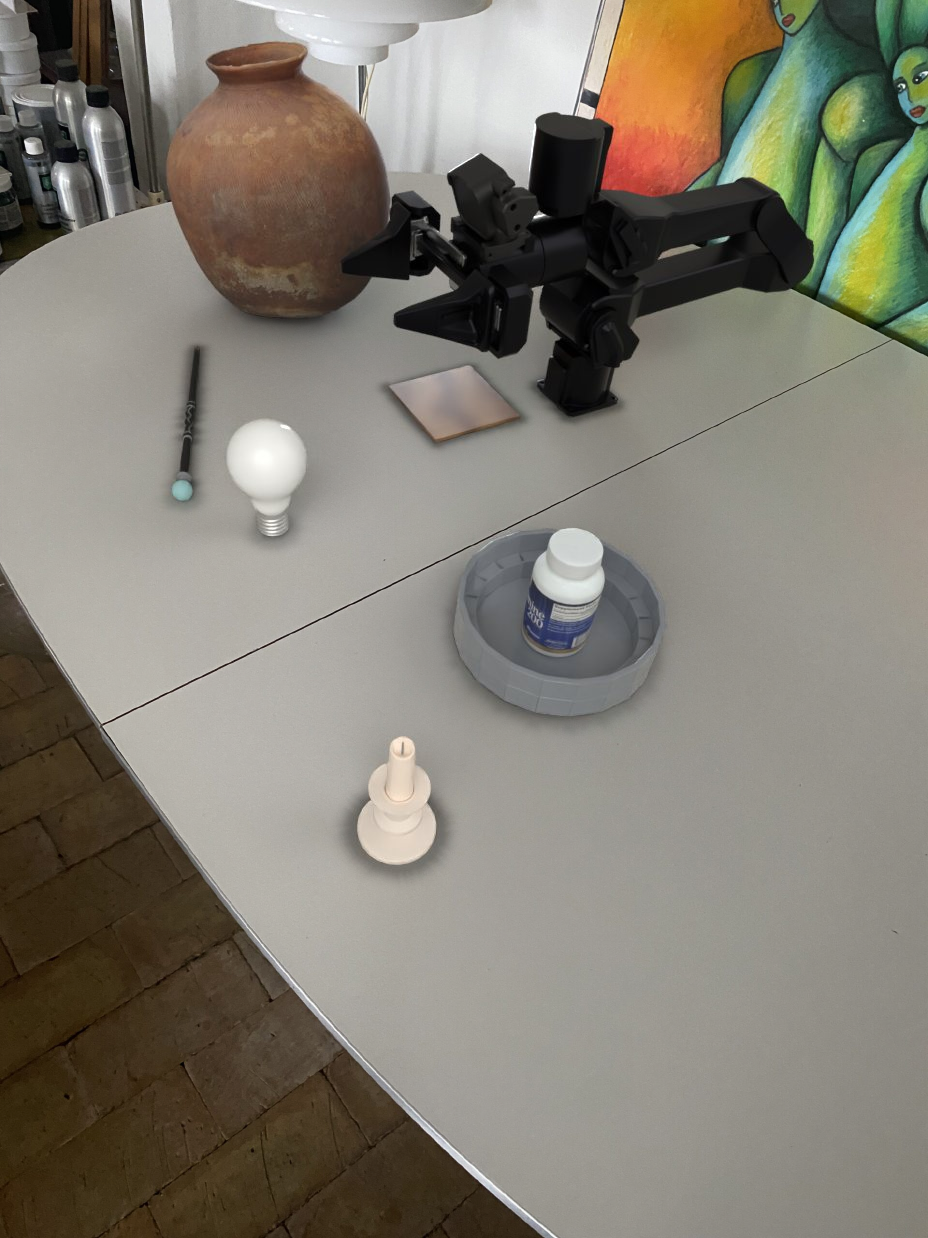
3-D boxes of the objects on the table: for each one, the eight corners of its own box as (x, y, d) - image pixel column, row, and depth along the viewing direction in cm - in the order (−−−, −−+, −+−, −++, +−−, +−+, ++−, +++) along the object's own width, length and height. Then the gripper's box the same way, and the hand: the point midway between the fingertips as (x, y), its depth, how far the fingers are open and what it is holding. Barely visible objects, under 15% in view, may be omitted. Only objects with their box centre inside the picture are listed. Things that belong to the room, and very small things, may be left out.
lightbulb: (323, 519, 77) (319, 415, 69) (290, 565, 73) (282, 461, 65) (258, 499, 78) (246, 394, 70) (222, 543, 74) (205, 437, 66)
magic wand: (200, 357, 93) (208, 344, 93) (186, 508, 77) (195, 494, 76) (185, 348, 92) (193, 336, 92) (167, 499, 76) (176, 486, 75)
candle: (438, 864, 56) (451, 780, 49) (357, 867, 56) (357, 782, 48) (433, 793, 60) (445, 704, 52) (357, 795, 59) (357, 705, 51)
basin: (574, 545, 78) (584, 507, 74) (691, 672, 69) (708, 635, 66) (417, 604, 71) (420, 565, 68) (525, 752, 63) (534, 716, 59)
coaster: (469, 367, 95) (469, 364, 95) (519, 418, 90) (520, 415, 89) (388, 388, 91) (388, 385, 91) (435, 442, 86) (435, 439, 85)
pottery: (396, 351, 96) (405, 99, 77) (178, 350, 92) (133, 86, 74) (380, 252, 111) (385, 21, 92) (192, 248, 107) (157, 6, 88)
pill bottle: (516, 608, 71) (534, 520, 64) (580, 608, 72) (605, 521, 65) (524, 660, 68) (544, 573, 60) (592, 660, 68) (619, 573, 61)
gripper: (475, 115, 75) (310, 142, 69) (608, 206, 66) (429, 246, 59) (466, 242, 84) (318, 275, 78) (582, 338, 74) (423, 385, 68)
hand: (366, 292), depth 70 cm, fingers open, 9 cm apart
